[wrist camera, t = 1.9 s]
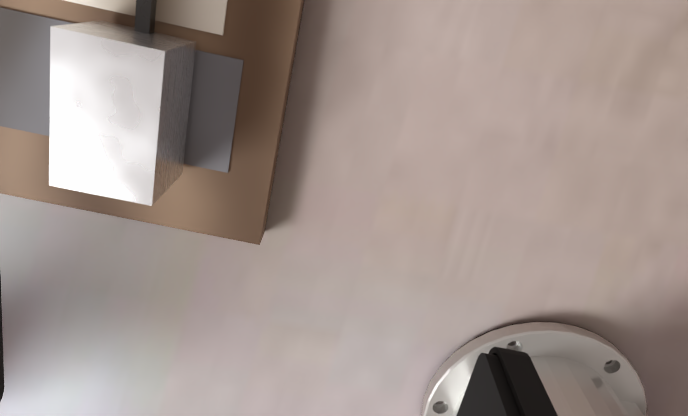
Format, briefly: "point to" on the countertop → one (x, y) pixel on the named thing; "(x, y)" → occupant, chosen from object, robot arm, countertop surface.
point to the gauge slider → (118, 107)
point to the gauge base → (204, 110)
